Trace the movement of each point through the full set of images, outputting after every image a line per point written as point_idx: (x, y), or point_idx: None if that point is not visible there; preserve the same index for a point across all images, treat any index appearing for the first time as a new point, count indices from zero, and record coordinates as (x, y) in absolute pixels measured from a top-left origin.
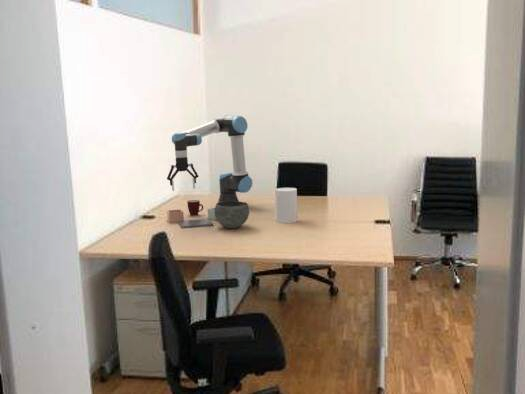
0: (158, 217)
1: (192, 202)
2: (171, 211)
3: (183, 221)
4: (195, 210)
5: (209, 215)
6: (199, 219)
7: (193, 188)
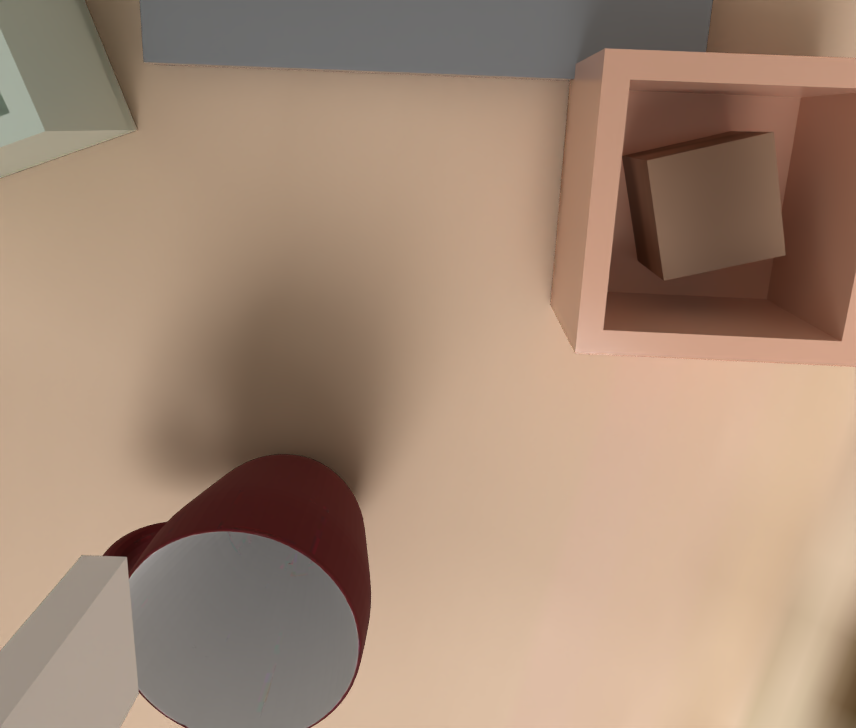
0: (808, 616)
1: (280, 534)
2: (766, 332)
3: (595, 8)
4: (265, 463)
5: (82, 78)
6: (293, 43)
7: (130, 616)
